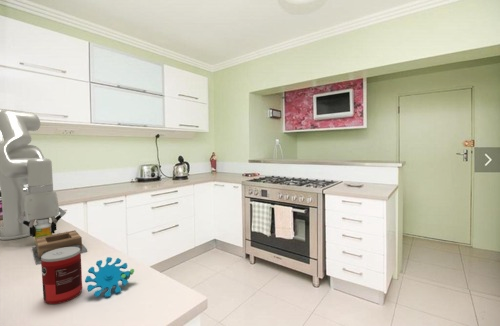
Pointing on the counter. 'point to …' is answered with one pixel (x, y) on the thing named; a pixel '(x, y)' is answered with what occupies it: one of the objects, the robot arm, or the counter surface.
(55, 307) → the counter surface
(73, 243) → the frame
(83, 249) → the jig plate
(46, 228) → the supplement bottle
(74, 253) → the canned food
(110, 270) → the gear
